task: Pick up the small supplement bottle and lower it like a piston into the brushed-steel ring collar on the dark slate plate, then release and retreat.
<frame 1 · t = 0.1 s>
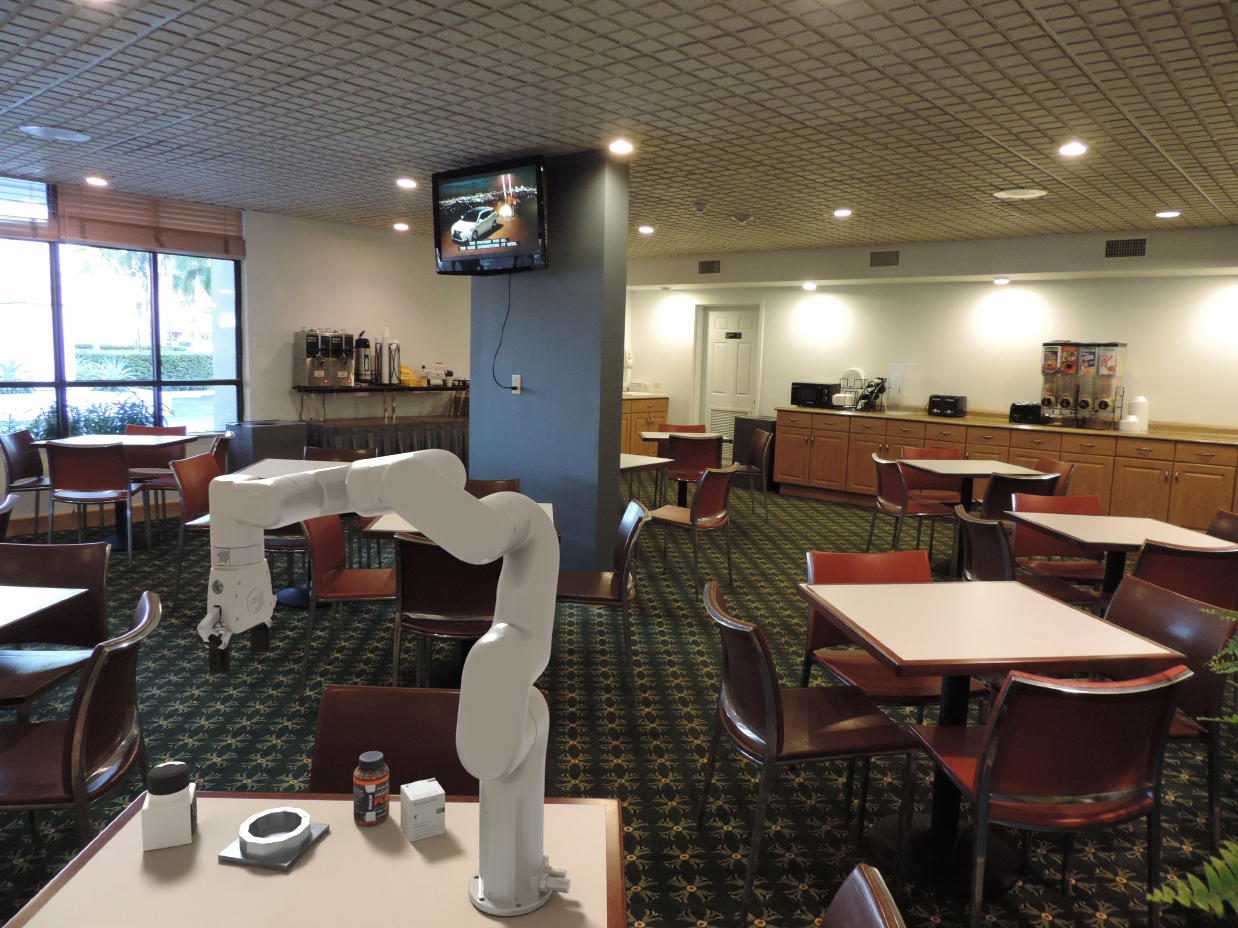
hand: (241, 661, 128), 31 cm above the table, fingers open, 9 cm apart
supplement bottle: (371, 819, 141), on the table
medicine bottle: (171, 837, 135), on the table
skincare box: (422, 830, 138), on the table
ring plate: (275, 844, 133), on the table
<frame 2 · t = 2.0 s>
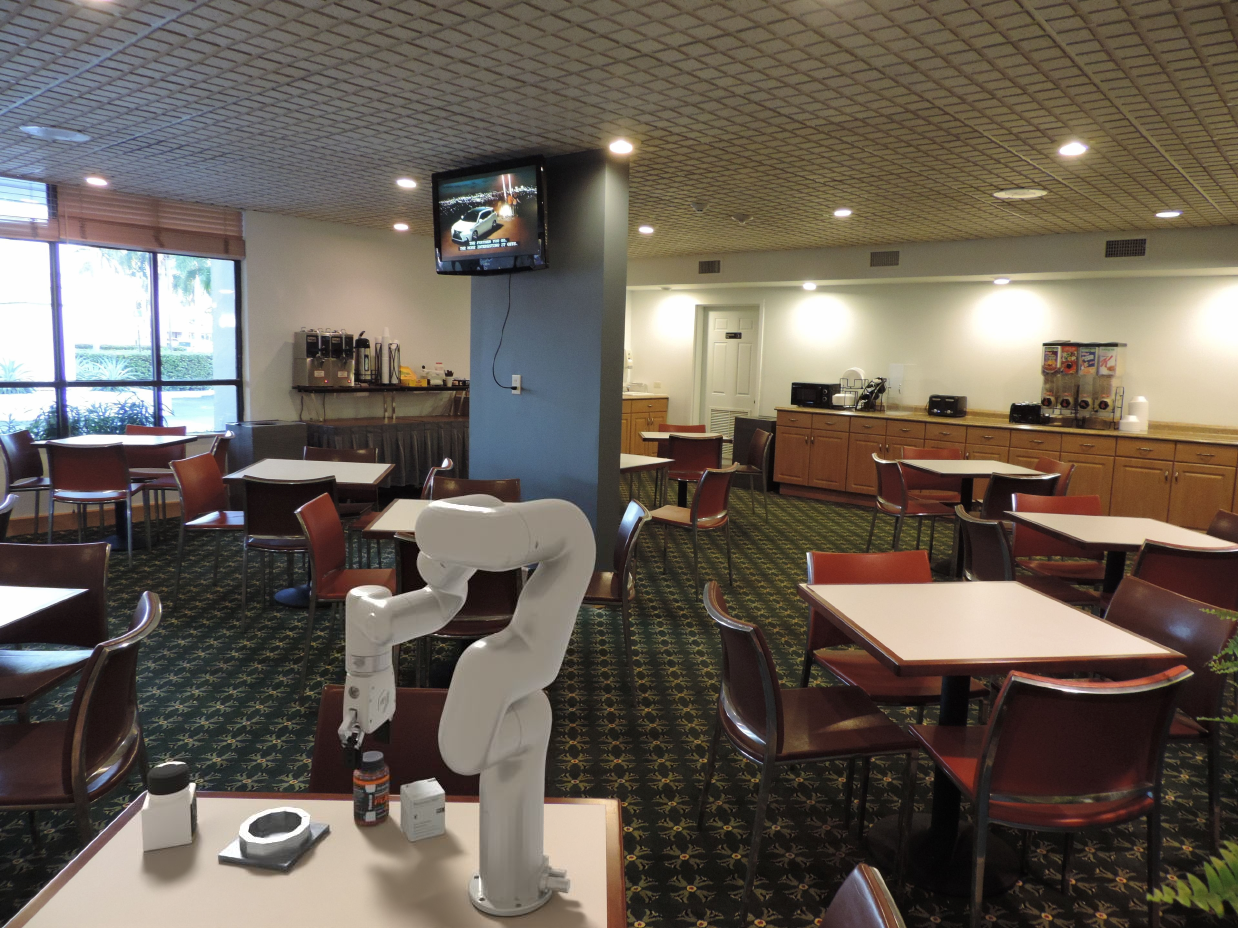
hand: (368, 754, 141), 11 cm above the table, fingers open, 9 cm apart
nothing on the table moved.
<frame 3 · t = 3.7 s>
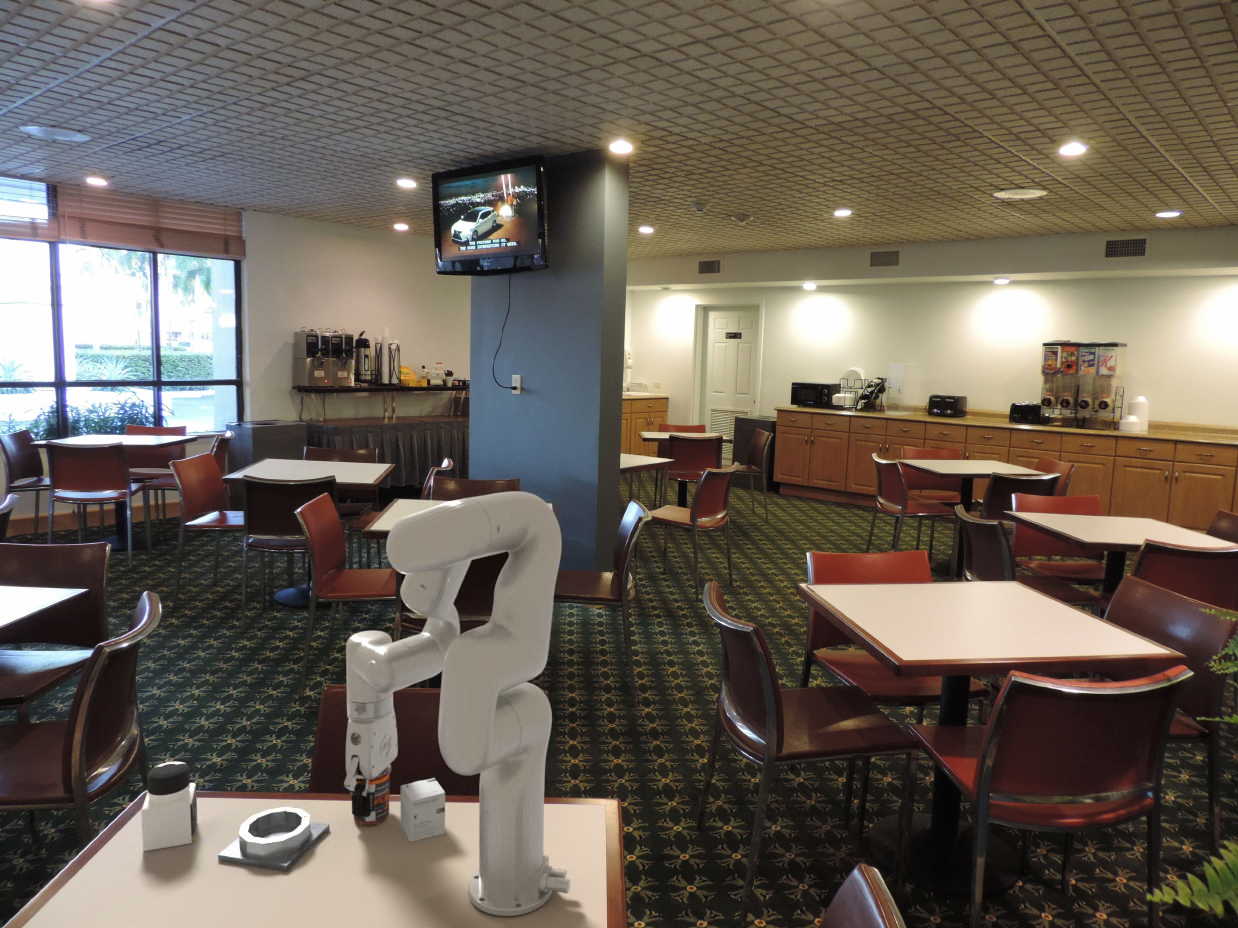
hand: (371, 803, 141), 3 cm above the table, fingers closed on supplement bottle, 5 cm apart
supplement bottle: (371, 819, 141), on the table, touching gripper
everything else where it was.
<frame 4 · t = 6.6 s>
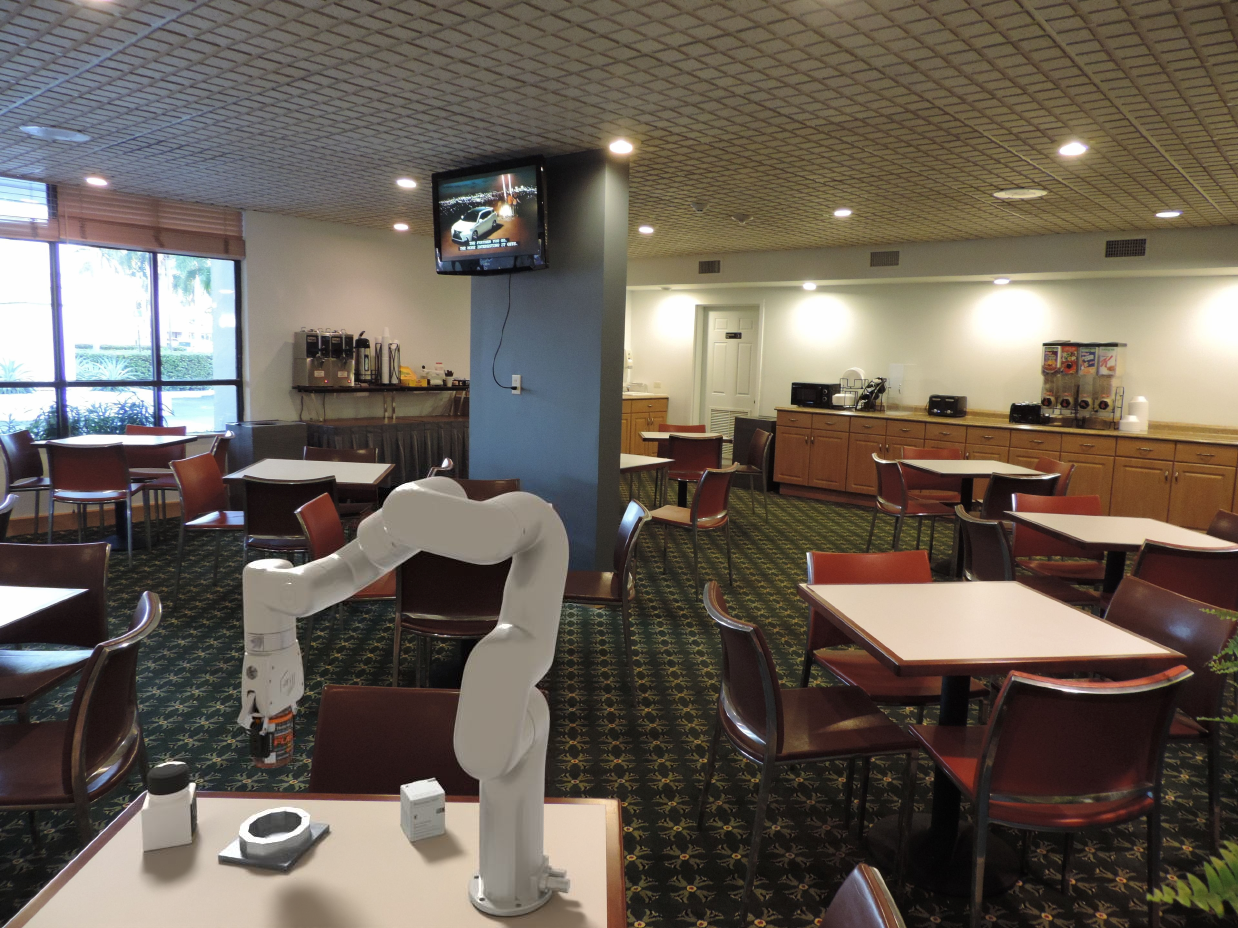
hand: (273, 745, 131), 17 cm above the table, fingers closed on supplement bottle, 5 cm apart
supplement bottle: (273, 762, 131), point 14 cm above the table, touching gripper
everything else where it was.
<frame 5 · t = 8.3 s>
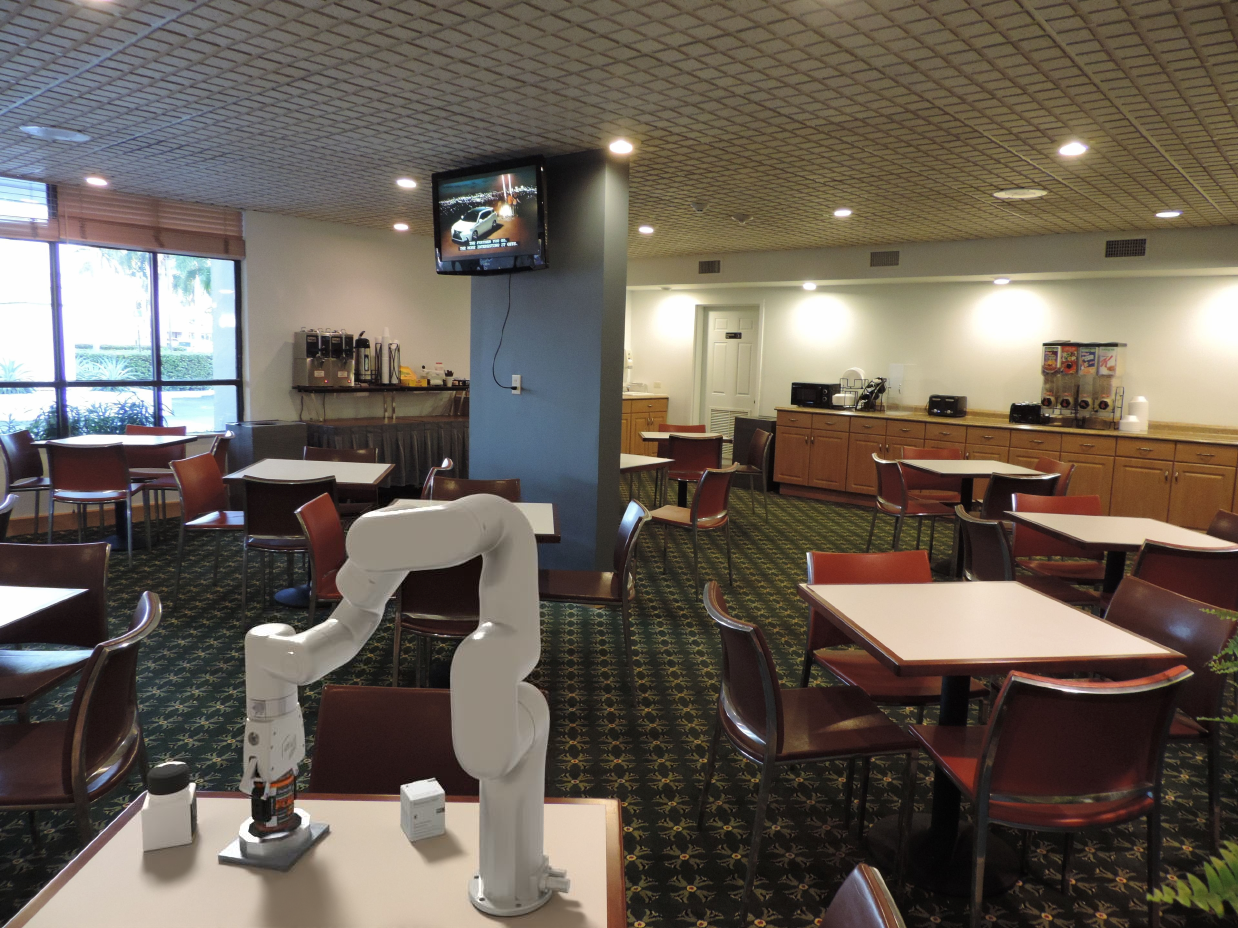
hand: (274, 808, 132), 6 cm above the table, fingers closed on supplement bottle, 5 cm apart
supplement bottle: (274, 824, 133), point 3 cm above the table, touching gripper
everything else where it was.
when the fingers open (5 cm above the table, at t = 9.5 s): supplement bottle drops 1 cm, resting on ring plate.
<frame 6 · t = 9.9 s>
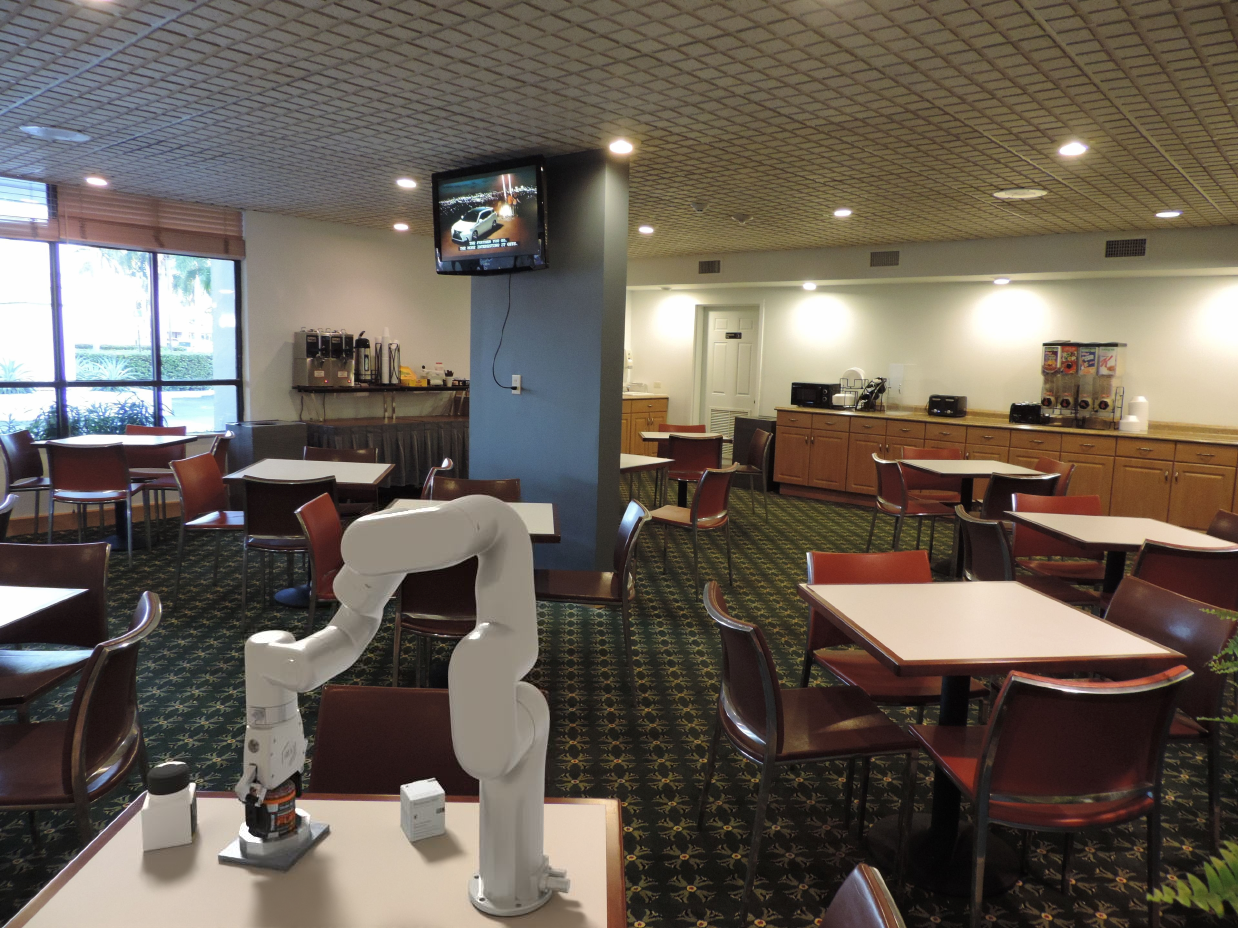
hand: (274, 810, 132), 6 cm above the table, fingers open, 9 cm apart
supplement bottle: (276, 840, 133), point 1 cm above the table, touching ring plate
everything else where it was.
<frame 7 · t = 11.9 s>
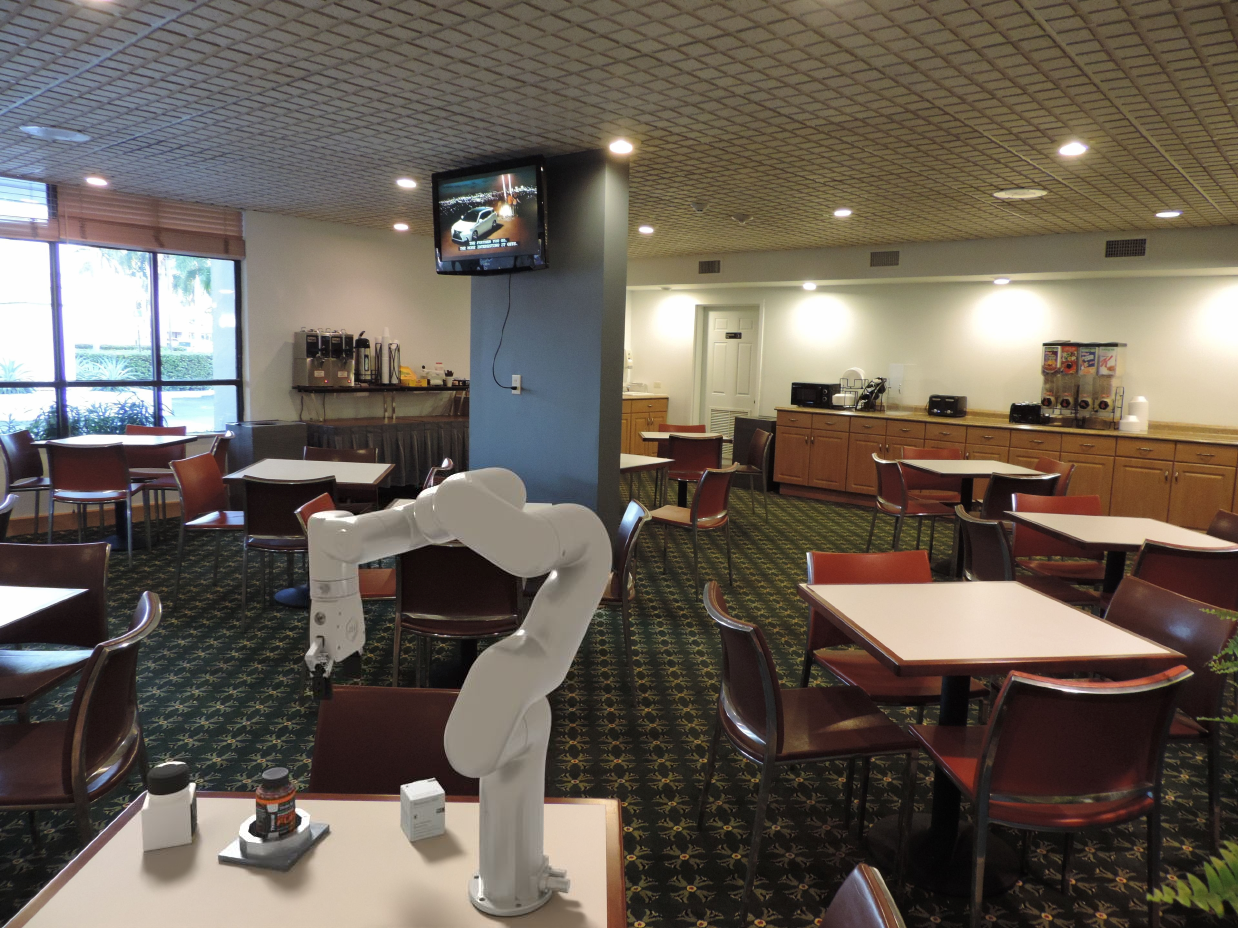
hand: (338, 688, 135), 25 cm above the table, fingers open, 9 cm apart
nothing on the table moved.
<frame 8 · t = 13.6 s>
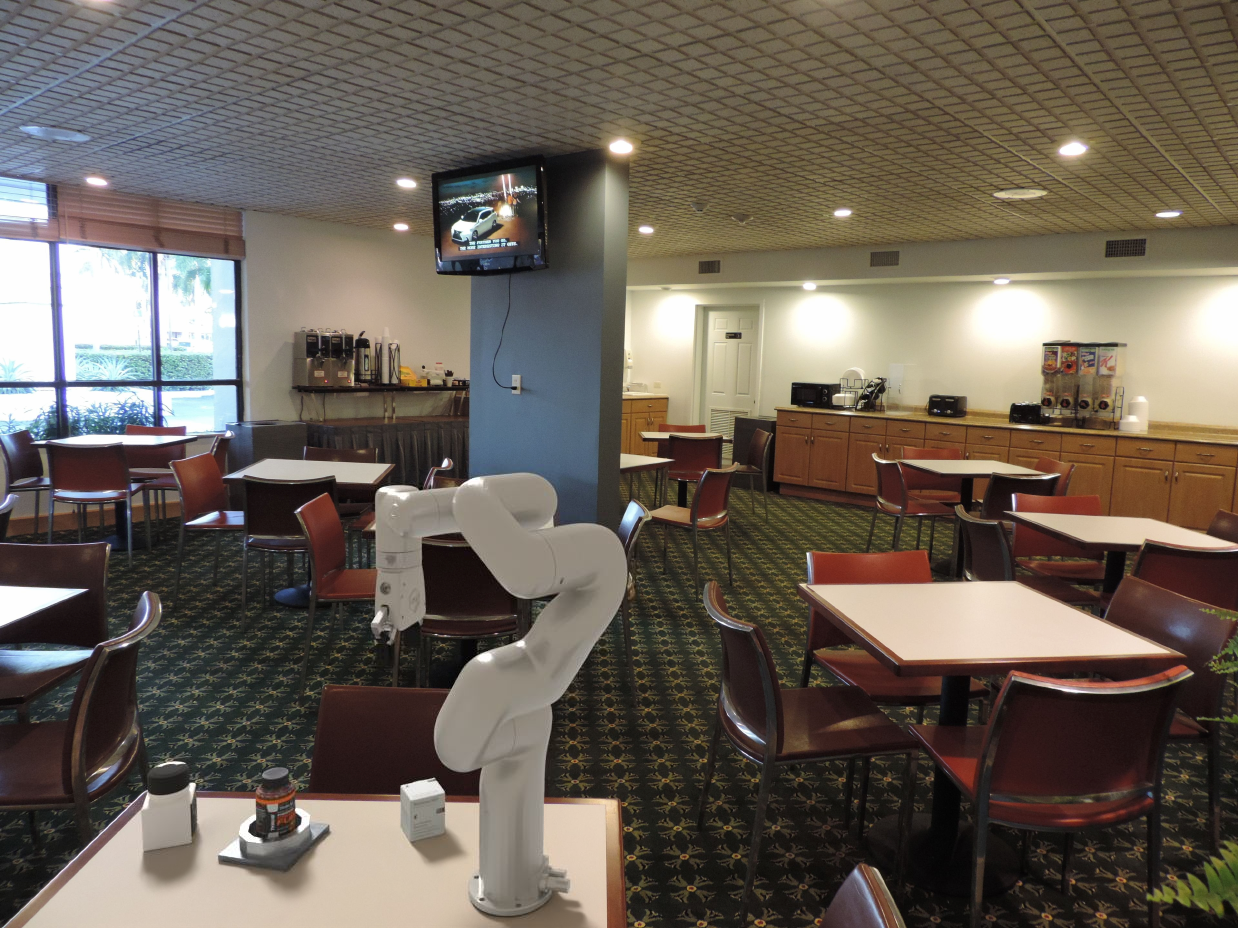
hand: (399, 656, 140), 28 cm above the table, fingers open, 9 cm apart
nothing on the table moved.
at the end: supplement bottle 0.2 cm from the ring plate (horizontally); supplement bottle point 0.8 cm above the table; supplement bottle tilted 0° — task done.
